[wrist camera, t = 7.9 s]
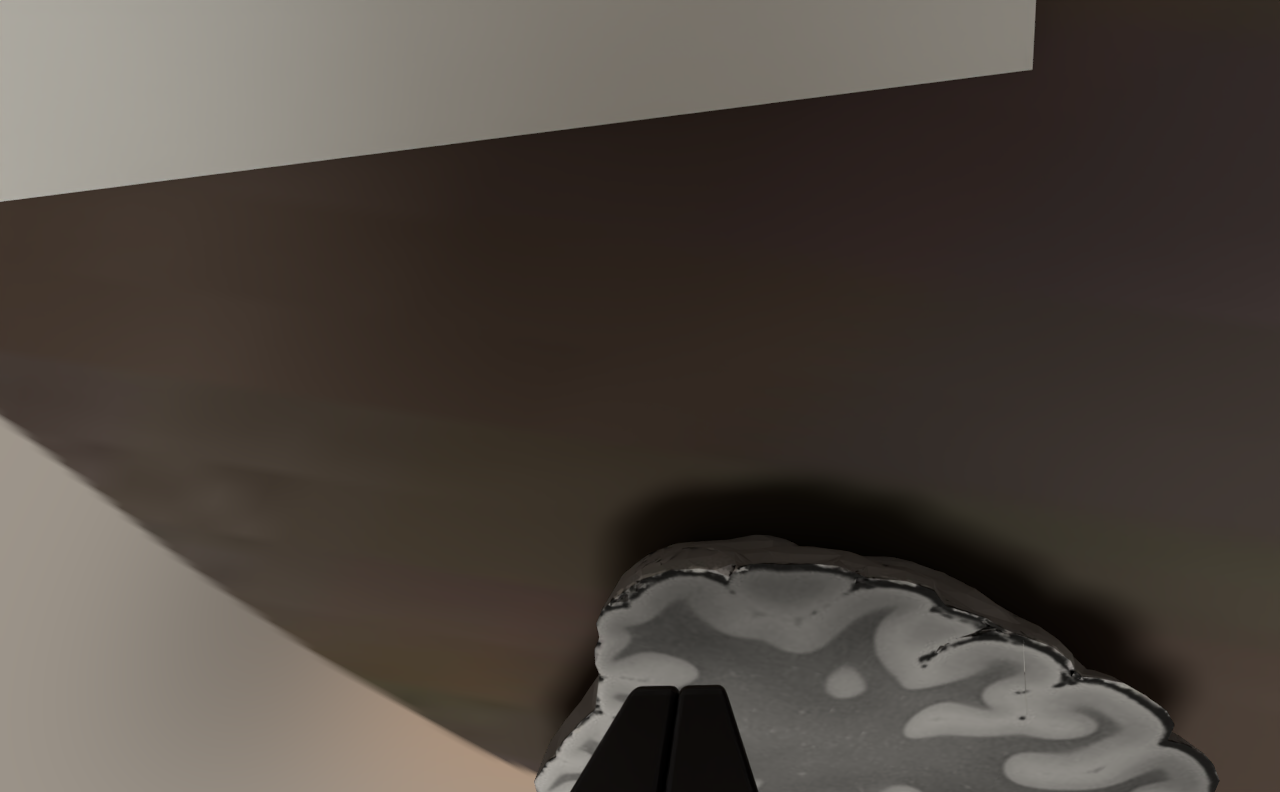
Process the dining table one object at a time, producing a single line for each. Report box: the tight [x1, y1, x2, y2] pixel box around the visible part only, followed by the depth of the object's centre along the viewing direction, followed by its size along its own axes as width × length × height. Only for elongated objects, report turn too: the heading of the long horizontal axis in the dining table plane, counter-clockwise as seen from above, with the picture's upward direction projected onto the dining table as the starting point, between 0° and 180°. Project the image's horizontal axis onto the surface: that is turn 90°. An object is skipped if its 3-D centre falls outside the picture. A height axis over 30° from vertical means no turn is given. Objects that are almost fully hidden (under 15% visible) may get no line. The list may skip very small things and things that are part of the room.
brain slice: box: [534, 535, 1219, 792], centre depth 28 cm, size 20×17×3 cm
